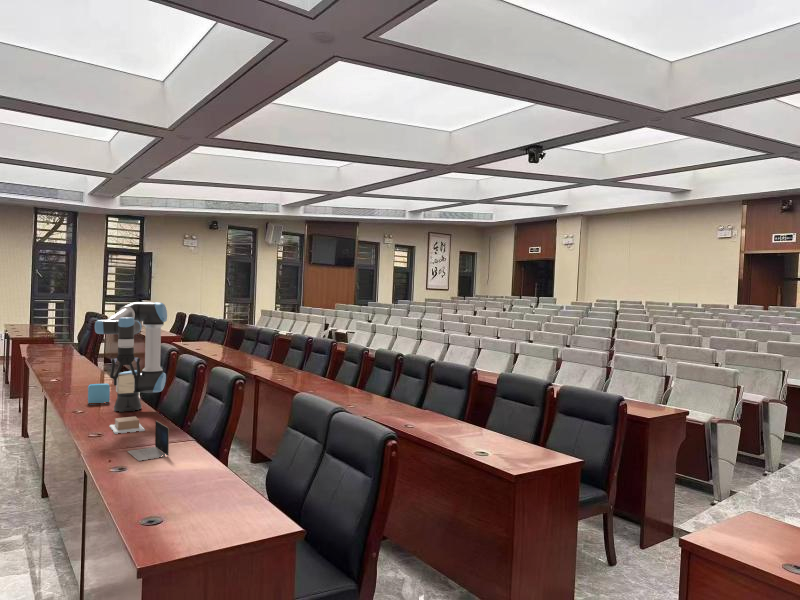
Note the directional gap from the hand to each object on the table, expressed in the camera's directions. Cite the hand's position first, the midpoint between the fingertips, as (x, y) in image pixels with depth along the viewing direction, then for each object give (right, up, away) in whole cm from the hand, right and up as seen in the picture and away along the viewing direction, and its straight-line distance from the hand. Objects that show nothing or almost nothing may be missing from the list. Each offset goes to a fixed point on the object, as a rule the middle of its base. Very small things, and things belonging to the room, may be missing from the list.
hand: (125, 391), depth 308 cm
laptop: (+31, -22, -46) cm, 59 cm away
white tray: (+1, -20, 0) cm, 20 cm away
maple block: (0, -1, 0) cm, 1 cm away
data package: (-46, -18, +64) cm, 81 cm away
